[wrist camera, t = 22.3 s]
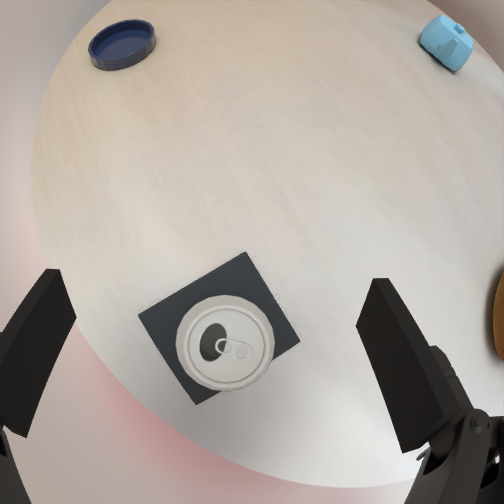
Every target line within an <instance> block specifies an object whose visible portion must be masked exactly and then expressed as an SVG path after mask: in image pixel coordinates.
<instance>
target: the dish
mask: <svg viewBox="0 0 504 504" xmlns="http://www.w3.org/2000/svg"><path fill="white" fill-rule="evenodd" d="M154 46H155V33H154V28H153V26H152V25H151V24H150V23H148V22H146V21H144V20H137V19H135V20H125V21H121V22H117V23H115V24H112V25H110V26H108V27H106V28H105V29H103V30H101V31H100V32H99V33H98V34H97V35H96V36H95V37H94V38H93V39H92V40H91V42H90V44H89V48H88V52H89V55H90V57H91V60H92V62H93V64H94V65H95V66H96V67H97V68H99V69H102V70H119V69H123V68H126V67H129V66H132V65H134V64H136V63H138V62H140V61H141V60H143V59H144V58H145V57H147V56H148V55H149V54H150V53H151V51H152V50H153V48H154Z"/></svg>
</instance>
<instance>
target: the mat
mask: <svg viewBox="0 0 504 504" xmlns="http://www.w3.org/2000/svg"><path fill="white" fill-rule="evenodd" d="M221 295H228V296H235V297H241V298H243V299H245V300H247V301H249V302H251V303H253V304H255V305H256V306H257V307H258V308H259V309H260V310H261V311H262V312H263V313H264V314H265V315H266V317H267V319H268V321H269V323H270V325H271V326H272V329H273V335H274V340H275V346H274V353H273V358H272V360H273V359H275V358H276V357H278V356H279V355H281V354H283V353H284V352H286V351H287V350H289V349H290V348H292V347H293V346H295V345H296V344H297V343H299V342H300V339H299V338H298V336H297V335H296V333H295V331H294V330H293V328H292V326H291V325H290V323H289V321H288V320H287V318H286V317H285V315H284V313H283V312H282V310H281V308H280V307H279V305H278V304H277V302H276V300H275V299H274V297H273V295H272V294H271V292H270V290H269V289H268V287H267V285H266V284H265V282H264V281H263V279H262V277H261V276H260V274H259V272H258V271H257V269H256V267H255V266H254V264H253V263H252V261H251V259H250V258H249V256H248V254H247V253H246V251H245V252H244V253H242V254H240V255H238V256H237V257H235V258H233V259H232V260H230V261H228V262H227V263H225V264H223V265H221V266H220V267H218V268H216V269H215V270H213V271H211V272H210V273H208V274H206V275H205V276H203V277H201V278H199V279H198V280H196V281H194V282H193V283H191V284H189V285H188V286H186V287H184V288H183V289H181V290H179V291H177V292H176V293H174V294H172V295H171V296H169V297H167V298H166V299H164V300H162V301H161V302H159V303H157V304H155V305H154V306H152V307H150V308H149V309H147V310H145V311H144V312H142V313H140V314H139V315H138V316H139V318H140V320H141V322H142V323H143V325H144V327H145V328H146V330H147V332H148V333H149V335H150V337H151V338H152V340H153V342H154V343H155V345H156V347H157V348H158V350H159V351H160V353H161V355H162V356H163V358H164V359H165V361H166V362H167V364H168V366H169V367H170V369H171V370H172V372H173V373H174V375H175V376H176V378H177V379H178V381H179V382H180V383H181V385H182V386H183V388H184V389H185V391H186V392H187V393H188V395H189V396H190V398H191V399H192V401H193V402H194V403H195V405H197V404H199V403H201V402H203V401H205V400H207V399H208V398H210V397H212V396H214V395H215V394H217V393H219V392H221V391H220V390H212V389H210V388H207V387H205V386H203V385H201V384H198V383H197V382H196V381H195V380H194V379H193V378H191V377H190V376H189V375H188V374H187V373H186V371H185V370H184V368H183V366H182V365H181V363H180V361H179V359H178V354H177V349H176V338H177V330H178V328H179V325H180V323H181V321H182V319H183V317H184V315H185V314H186V313H187V312H188V311H189V310H190V309H191V308H192V307H193V306H194V305H195V304H197V303H199V302H201V301H203V300H205V299H207V298H209V297H215V296H221ZM272 360H271V361H272Z"/></svg>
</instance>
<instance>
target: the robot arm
mask: <svg viewBox="0 0 504 504" xmlns="http://www.w3.org/2000/svg"><path fill="white" fill-rule="evenodd" d="M76 318H77V317H76V314H75V312H74V309H73V307H72V304H71V301H70V299H69V296H68V293H67V290H66V287H65V284H64V282H63V279H62V276H61V272H60V269H46V270H45V271H44V272H43V274H42V275H41V276H40V278H39V279H38V280H37V282H36V283H35V284H34V286H33V287H32V288H31V290H30V291H29V293H28V294H27V295H26V297H25V298H24V300H23V301H22V303H21V304H20V306H19V307H18V309H17V310H16V312H15V313H14V315H13V316H12V318H11V319H10V321H9V322H8V324H7V326H6V327H5V329H4V330H3V332H0V504H31V501H30V499H29V497H28V495H27V492H26V490H25V488H24V486H23V483H22V480H21V478H20V475H19V473H18V470H17V467H16V465H15V462H14V459H13V456H12V453H11V450H10V446H9V443H8V440H7V436H6V434H5V432H4V430H3V426H4V425H5V426H6V427H7V428H8V429H9V430H11V432H13V433H16V434H18V435H20V436H22V437H25V438H27V435H28V432H29V429H30V426H31V423H32V420H33V417H34V414H35V412H36V409H37V406H38V403H39V401H40V398H41V396H42V393H43V390H44V388H45V386H46V383H47V381H48V378H49V376H50V373H51V371H52V369H53V366H54V364H55V362H56V360H57V358H58V355H59V353H60V351H61V349H62V347H63V344H64V342H65V340H66V338H67V336H68V334H69V332H70V330H71V328H72V326H73V324H74V322H75V320H76ZM356 328H357V330H358V333H359V335H360V338H361V340H362V343H363V345H364V348H365V350H366V353H367V355H368V358H369V360H370V363H371V365H372V368H373V371H374V373H375V376H376V378H377V381H378V384H379V387H380V389H381V392H382V395H383V398H384V400H385V403H386V406H387V409H388V412H389V414H390V417H391V420H392V423H393V426H394V429H395V432H396V435H397V438H398V441H399V444H400V448H401V451H402V454H403V453H406V452H409V451H412V450H415V449H418V448H420V447H422V446H423V445H424V444H425V443H426V442H429V445H430V447H429V448H428V449H426V450H425V451H424V452H422V453H421V454H420V455H419V456H418V457H417V459H416V460H418V461H419V460H420V459H421V458H423V457H424V459H423V461H422V464H421V467H420V469H419V472H418V474H417V476H416V479H415V481H414V483H413V486H412V488H411V490H410V492H409V494H408V497H407V499H406V501H405V503H404V504H504V416H496V417H489V416H488V414H487V413H486V412H484V411H483V410H481V409H474V407H473V406H472V404H471V402H470V400H469V398H468V396H467V394H466V392H465V390H464V388H463V386H462V384H461V382H460V380H459V378H458V377H457V376H456V373H455V371H454V369H453V367H451V364H450V362H449V360H448V358H447V356H446V355H445V353H443V352H442V351H441V350H440V349H439V348H438V347H437V346H436V345H435V346H429V344H428V343H427V341H426V339H425V337H424V336H423V334H422V332H421V330H420V329H419V327H418V325H417V324H416V322H415V320H414V318H413V317H412V315H411V313H410V312H409V310H408V308H407V307H406V305H405V304H404V302H403V300H402V299H401V297H400V296H399V294H398V292H397V291H396V289H395V288H394V286H393V284H392V283H391V281H390V280H389V278H373V280H372V283H371V286H370V289H369V292H368V294H367V297H366V300H365V303H364V305H363V308H362V311H361V313H360V316H359V319H358V321H357V324H356ZM497 456H499V458H500V459H499V462H498V463H497V464H496V462H495V458H496V457H497Z"/></svg>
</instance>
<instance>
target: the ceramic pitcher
mask: <svg viewBox="0 0 504 504" xmlns="http://www.w3.org/2000/svg"><path fill="white" fill-rule="evenodd" d="M493 332H494V341H495V347H496V351H497V353H498V355H499V356H500V358H501V359H502V360H504V273H503V275H502V277H501V279H500V282H499V285H498V288H497V292H496V295H495V302H494V312H493Z"/></svg>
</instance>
